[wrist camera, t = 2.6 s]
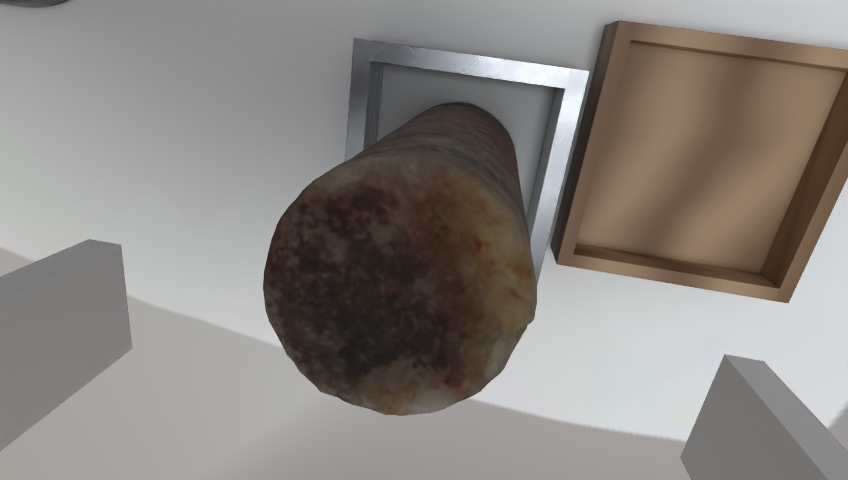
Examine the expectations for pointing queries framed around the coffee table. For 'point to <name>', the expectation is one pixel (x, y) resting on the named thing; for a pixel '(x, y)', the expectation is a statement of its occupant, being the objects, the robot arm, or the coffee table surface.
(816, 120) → the tray
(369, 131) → the collar
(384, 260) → the rusty brown cylinder
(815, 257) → the coffee table surface
